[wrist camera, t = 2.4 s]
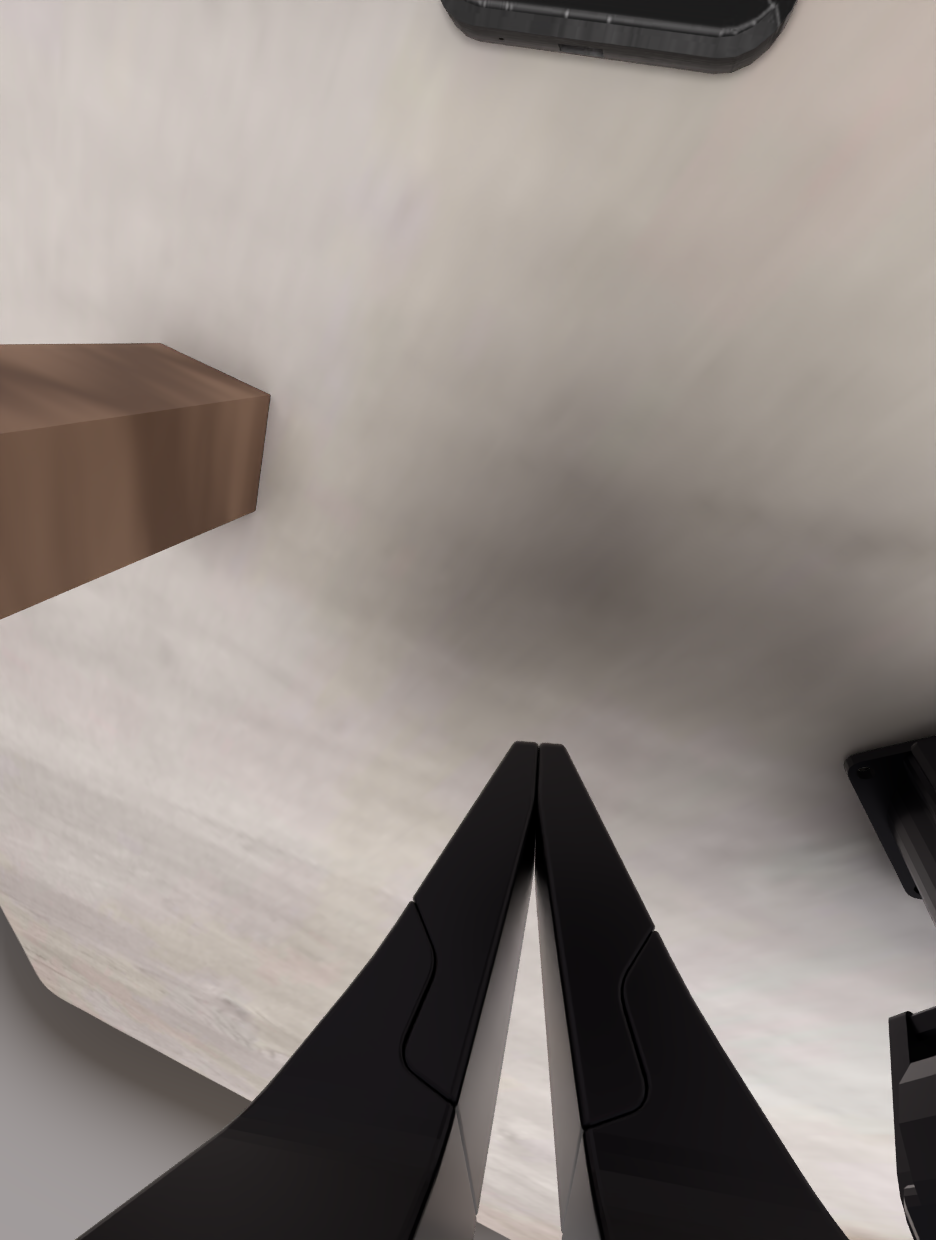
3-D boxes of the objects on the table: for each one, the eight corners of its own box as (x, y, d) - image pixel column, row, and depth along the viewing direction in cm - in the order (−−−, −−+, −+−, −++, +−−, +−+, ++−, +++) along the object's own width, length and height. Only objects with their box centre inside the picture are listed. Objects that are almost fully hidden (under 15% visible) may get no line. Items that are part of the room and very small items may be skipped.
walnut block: (270, 394, 18) (-218, 464, 8) (255, 510, 20) (-135, 676, 10) (160, 343, 18) (-437, 348, 8) (158, 463, 21) (-308, 578, 11)
